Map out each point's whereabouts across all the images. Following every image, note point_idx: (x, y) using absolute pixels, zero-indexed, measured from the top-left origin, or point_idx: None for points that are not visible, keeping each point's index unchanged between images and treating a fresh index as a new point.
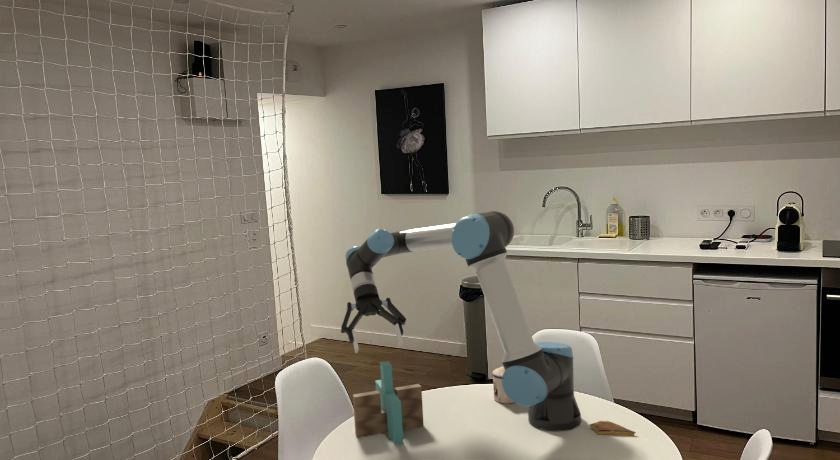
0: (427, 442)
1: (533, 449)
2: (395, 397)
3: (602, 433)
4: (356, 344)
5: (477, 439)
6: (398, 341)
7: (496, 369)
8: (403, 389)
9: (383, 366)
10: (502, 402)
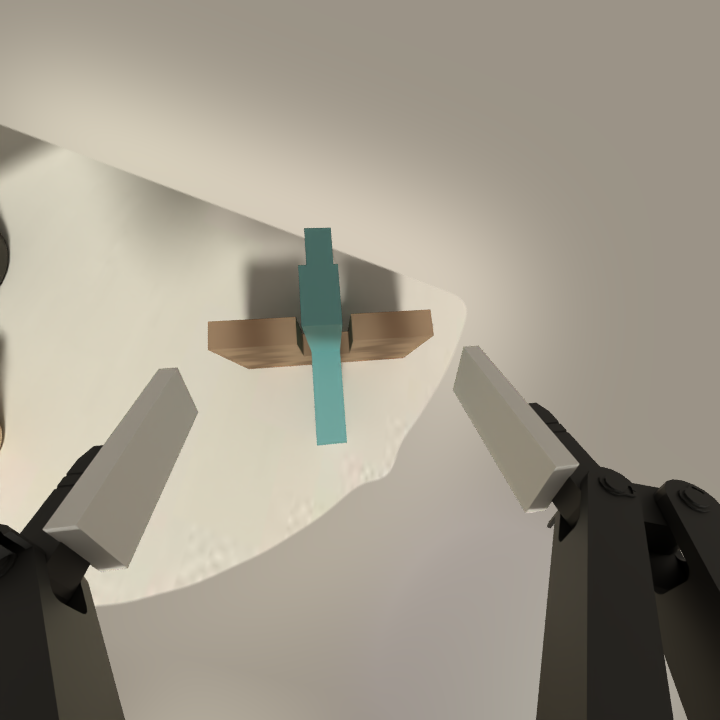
0: (265, 267)
1: (76, 165)
2: (312, 262)
3: None
4: (485, 362)
5: (161, 243)
6: (182, 429)
7: None
8: (272, 318)
9: (336, 265)
10: None
